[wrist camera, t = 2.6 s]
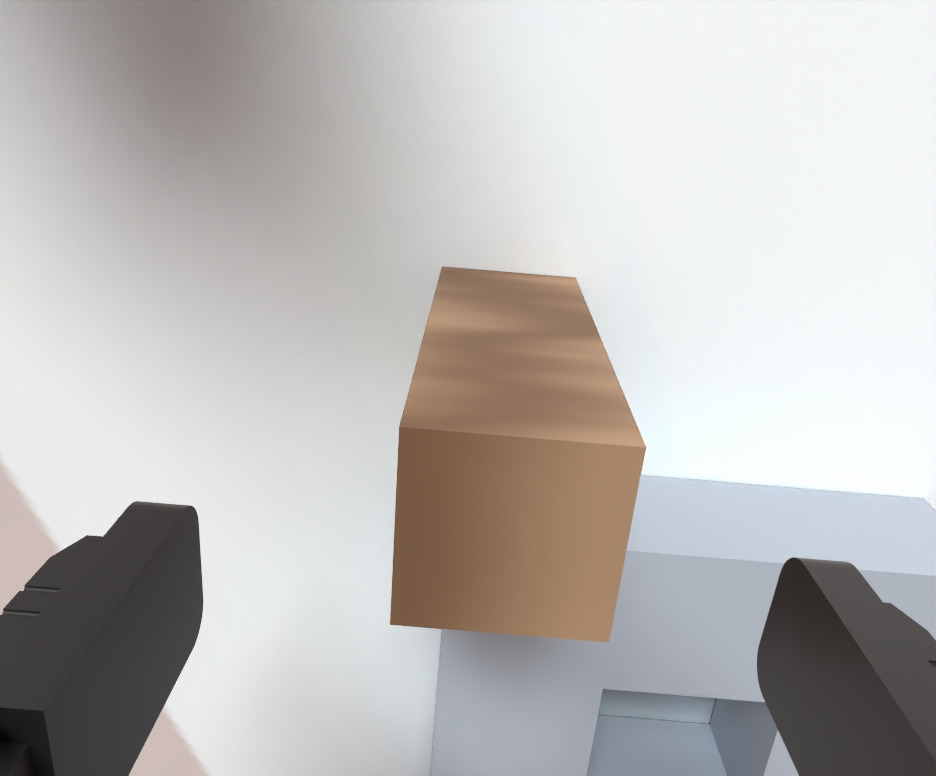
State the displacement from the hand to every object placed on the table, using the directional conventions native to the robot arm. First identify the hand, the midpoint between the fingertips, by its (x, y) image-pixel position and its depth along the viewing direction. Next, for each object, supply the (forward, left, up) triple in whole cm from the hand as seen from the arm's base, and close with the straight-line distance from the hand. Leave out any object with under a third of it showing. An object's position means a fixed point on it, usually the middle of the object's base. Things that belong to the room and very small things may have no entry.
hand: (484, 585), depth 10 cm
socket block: (-6, +11, -11) cm, 17 cm away
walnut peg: (0, 0, -11) cm, 11 cm away
